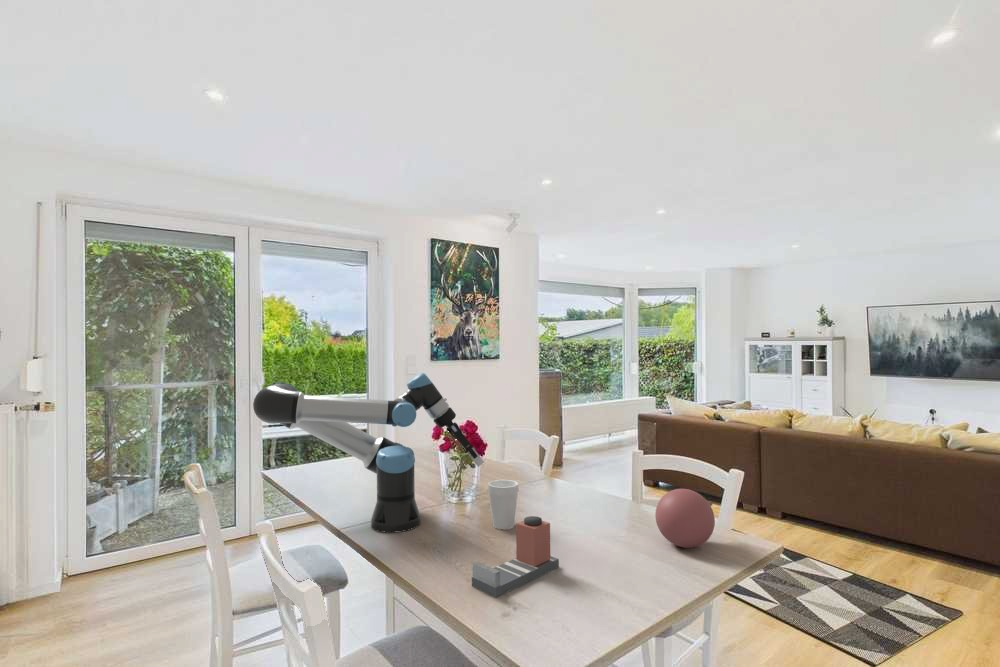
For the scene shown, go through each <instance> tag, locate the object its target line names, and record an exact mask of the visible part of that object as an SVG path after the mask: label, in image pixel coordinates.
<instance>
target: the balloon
mask: <svg viewBox="0 0 1000 667" xmlns="http://www.w3.org/2000/svg"><path fill="white" fill-rule="evenodd" d="M712 506H713V502H711V501H708V500H707V499H706V498H705V497H704V496H703V495H702V494H700V493H699V492H697V491H694V490H692V489H688V488H675V489H673V490H669V491H668V492H666V493H665V494H664V495H662V496H661V498H660V499H659V501H658V502H657V505H656V509H655V522H656V526H657V528H658V530H659V532H660V533H661V535H662V536H663V538H664V539H666V541H668V542H670V543H671V544H672V545H674V546H677V547H681V548H684V549H685V548H686V549H689V548H690V549H691V548H692V549H693V548H697V547H699V546H701V545H703V544H705V543H706V542H707V541H709V539H710V538H711V537H712V534H713V533H714V528H715V525H716V524H715V523H716V518H715V514H714V510H713V508H712Z"/></svg>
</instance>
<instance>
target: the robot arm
mask: <svg viewBox="0 0 1000 667" xmlns="http://www.w3.org/2000/svg"><path fill="white" fill-rule="evenodd" d="M406 387H407V390H406V391H405V392H404V393H402V394H400V395H399V396H398V397H397V398H395V399H394V400H387V399H386V400H383V399H371V398H370V399H369V398H353V397H341V396H340V397H338V396H337V397H335V396H322V395H306V394H304V393H303V392H302V391H300V390H298V389H297V388H296V387H295V386H293V385H292V384H290V383H287V382H275V383H272V384H270V385H268V386H266V387H264V388H262V389H261V390H260V391H258V392H257V393H256V395H255V397H254V399H253V403H252V404H253V405H252V406H253V407H252V408H253V411H254V414H255V415H256V417H257V418H258V419H259V420H261V421H262V422H264V423H267V424H274V425H275V424H276V425H277V424H280V425H281V426H284V427H285V428H288V429H290V430H291V429H296V428H298V429H299V430H301V431H304V432H306V433H308V434H309V435H312V436H313V437H315V438H317V439H319V440H321V441H323V442H325V443H327V444H329V445H330V446H333V447H334V448H336V449H338V450H340V451H341V452H342V451H343V452H344V453H346V454H347V455H350V456H352V457H354V458H356V459H358V460H360V462H362V463H363V466H364V468H365V469H367V470H369V471H370V472H372V473H374V474H375V475H376V502H375V506H374V510H373V512H372V515H371V520H370V521H371V523H370V524H371V526H372V527H371V528H372V529H373V528H374V529H375V531H377V530H378V531H377V532H381V531H385V532H384V533H396V532H395V531H401V532H404V531H403V530H406V531H409V530H408V529H410V530H412V529H411V528H413V529H415V528H417V527H419V526H420V524H421V514H420V511H419V507H418V505H417V502H416V498H415V462H416V458H415V453H414V450H413V449H412V448H411V447H408V446H405V445H403V444H401V443H400V442H396V441H392V440H390V439H388V438H386V437H385V436H380V437H375V436H373V435H371V434H369V433H367V432H365V431H364V430H361V429H360V428H358V427H356V426H354V425H352V424H377V425H389V426H390V425H391V426H392V427H394V428H395V427H401V428H405V427H406V428H407V427H410V426H411V425H412V424H414V422H415V421H416V418H417V411H418V410H420V409H421V408H423V410H425V412H426V414H427V415H428V416H429V417H430V419H431V420H432V419H433V422H434V423H435V425H436V426H437V427H438V429H441V428H445V427H446V431H447V432H448V431H449V432H448V433H449V434H450V435H451V437H453V439H454V440H455V439H457V440H458V441H459V442H460V444H461V445H462V446H463V447H464V449H465V450H466V451H464V450H463V452H464V453H465V454H466V453H468V455H469V456H470V457H471V459H470V460H472V461H473V463H474V464H475V465H476V466H477V467H478V468H479V467H480V466H482V465H483V464H484V463H485V461H484V459H482V457H481V456H480V454H479V453H478V452H477V450H476V448H475V447H474V445H473V444H471V443H470V441H469V440H468V439H467V438H466V436H465V434H464V433H463V430H462V429H461V428H460V427H459V424H458V423H457V422H456V421H455V422H453V420H454V419H455V418H456V416H457V414H456V413H455V411H454V410H453V408H452V407H450V405H449V403H448V402H447V398H444V397H443V395H442V394H441V393H440V391H439V390H438V388H437V387H436V385H435V384H434V383H433V381H432V380H431V379H430V378H429V377H428V375H427V374H426V373H422V372H420V373H418V374H417V375H416V376H414V377H413V378H411V380H409V381H408V382H407V384H406ZM453 434H454V435H453ZM460 444H459V445H460ZM467 446H468V447H467ZM466 447H467V448H466ZM416 526H417V527H416ZM414 527H415V528H414ZM374 529H373V530H374Z"/></svg>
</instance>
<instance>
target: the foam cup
mask: <svg viewBox="0 0 1000 667" xmlns="http://www.w3.org/2000/svg"><path fill="white" fill-rule="evenodd" d="M518 492H519V482H518V481H515V480H513V479H511V480H510V479H496V480H492V481H489V482H487V493H488V498H489V504H490V511H491V512H490V513H491V519H492V520H491V521H492V526H493V528H494V527H495V528H494V529H496V528H497V530H501V529H503V530H511V529H512V528H514V527H515V520H516V511H517V503H518V502H517V501H518V494H519V493H518ZM513 526H514V527H513ZM510 528H511V529H510Z"/></svg>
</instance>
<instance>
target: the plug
mask: <svg viewBox="0 0 1000 667" xmlns="http://www.w3.org/2000/svg"><path fill="white" fill-rule="evenodd" d="M515 533H516V534H515V537H516V540H515V541H516V542H515V543H516V544H515V545H516V547H515V550H516V552H515V553H516V554H515V555H516V558H517V560H518V561H521V562H524V563H526V564H529V565H531V566H534V567H535V566H537V565H539V564H542V563H544V562H546V561H548V560H550V559H551V523H550V522H548V521H544V520H542V518H541V517H539V516H535V515H534V516H533V515H531V516H530V515H529V516H526V517H524V518H523V520H522V521H519V522H516V523H515ZM516 558H515V559H516Z"/></svg>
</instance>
